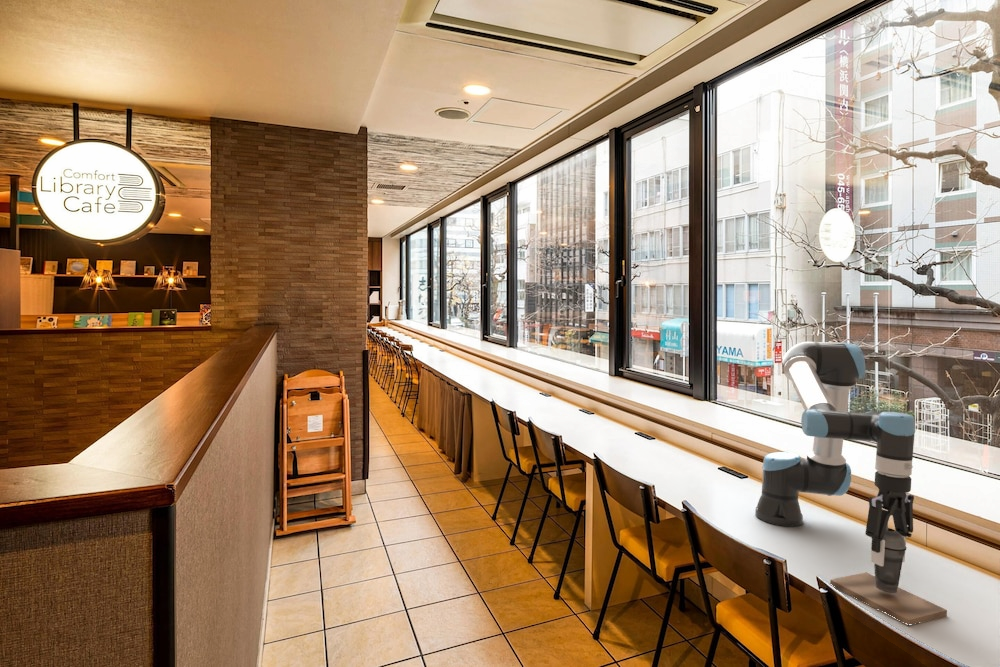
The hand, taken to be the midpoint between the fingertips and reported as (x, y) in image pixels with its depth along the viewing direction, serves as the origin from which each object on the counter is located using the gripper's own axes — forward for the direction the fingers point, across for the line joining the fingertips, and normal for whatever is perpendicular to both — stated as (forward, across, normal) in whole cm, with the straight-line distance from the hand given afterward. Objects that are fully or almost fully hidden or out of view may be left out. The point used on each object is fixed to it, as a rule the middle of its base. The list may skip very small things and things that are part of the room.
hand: (887, 561), depth 139 cm
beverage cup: (+7, 0, 0) cm, 7 cm away
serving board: (+10, 0, 0) cm, 10 cm away
